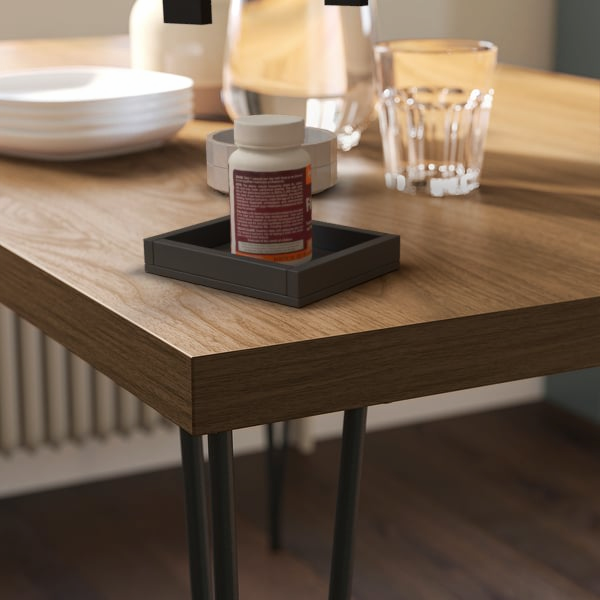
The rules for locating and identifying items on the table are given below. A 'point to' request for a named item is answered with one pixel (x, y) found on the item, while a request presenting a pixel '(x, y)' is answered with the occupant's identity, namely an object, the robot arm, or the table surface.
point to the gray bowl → (315, 144)
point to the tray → (270, 275)
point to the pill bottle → (271, 190)
